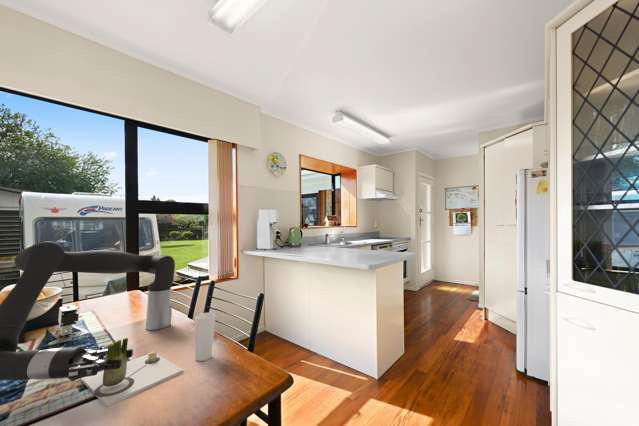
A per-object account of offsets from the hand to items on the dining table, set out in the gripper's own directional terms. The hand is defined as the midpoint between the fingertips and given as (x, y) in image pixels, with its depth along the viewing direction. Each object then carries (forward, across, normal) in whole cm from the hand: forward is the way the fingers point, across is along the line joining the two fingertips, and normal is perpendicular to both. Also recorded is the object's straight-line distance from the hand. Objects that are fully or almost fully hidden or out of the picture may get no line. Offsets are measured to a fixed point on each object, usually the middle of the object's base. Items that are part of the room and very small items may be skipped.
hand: (126, 358), depth 75 cm
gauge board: (0, +6, +8) cm, 11 cm away
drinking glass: (+18, +15, +8) cm, 25 cm away
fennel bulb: (-3, 0, +7) cm, 7 cm away
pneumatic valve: (-43, +47, +9) cm, 64 cm away
